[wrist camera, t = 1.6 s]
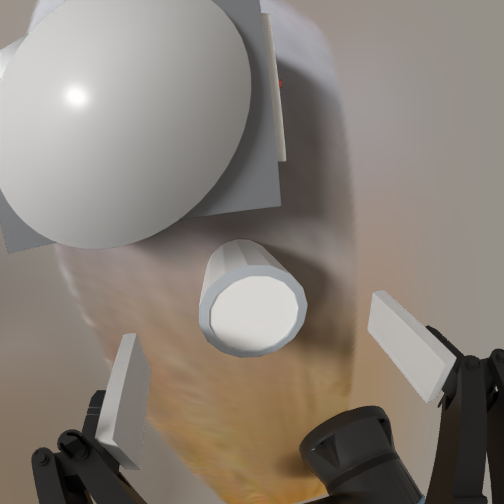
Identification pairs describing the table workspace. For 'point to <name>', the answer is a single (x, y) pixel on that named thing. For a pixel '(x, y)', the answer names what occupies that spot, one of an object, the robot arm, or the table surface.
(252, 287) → the shot glass
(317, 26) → the table surface
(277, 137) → the dial scale
